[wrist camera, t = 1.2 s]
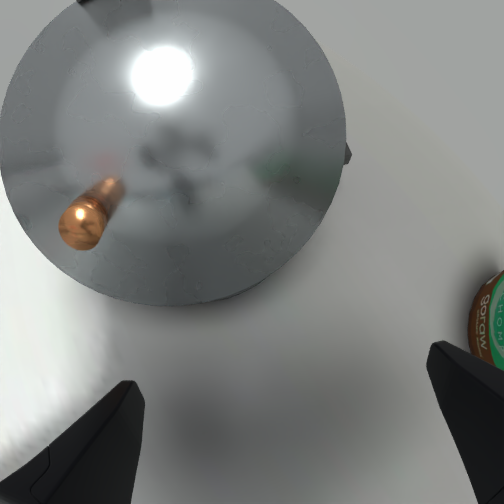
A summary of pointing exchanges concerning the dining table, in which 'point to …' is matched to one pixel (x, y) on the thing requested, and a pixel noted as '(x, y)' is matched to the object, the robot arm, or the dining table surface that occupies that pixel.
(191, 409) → the dining table surface
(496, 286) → the food container
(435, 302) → the dining table surface
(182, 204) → the cooker lid
